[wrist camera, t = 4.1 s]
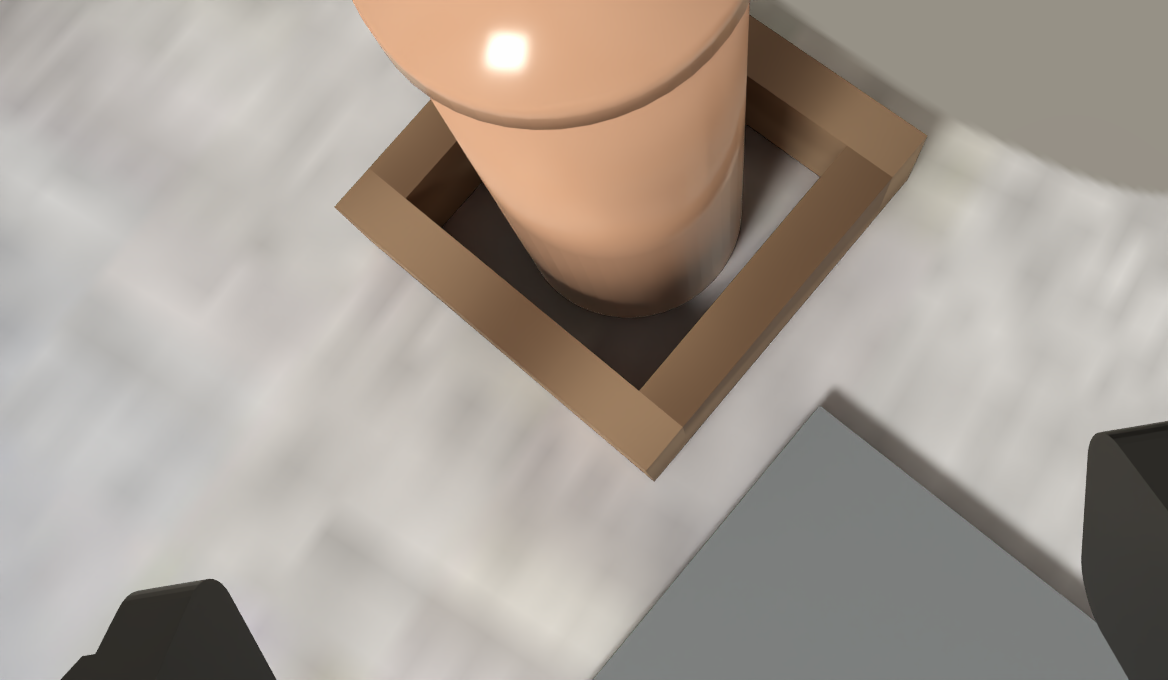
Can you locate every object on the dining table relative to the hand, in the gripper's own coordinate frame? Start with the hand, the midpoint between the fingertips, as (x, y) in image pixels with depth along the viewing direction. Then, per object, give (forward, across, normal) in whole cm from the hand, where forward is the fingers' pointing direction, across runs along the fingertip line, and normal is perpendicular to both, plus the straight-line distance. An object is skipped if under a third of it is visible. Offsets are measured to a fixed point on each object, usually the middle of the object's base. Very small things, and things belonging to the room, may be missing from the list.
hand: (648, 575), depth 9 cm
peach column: (+16, 0, +4) cm, 16 cm away
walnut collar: (+16, 0, +4) cm, 16 cm away
